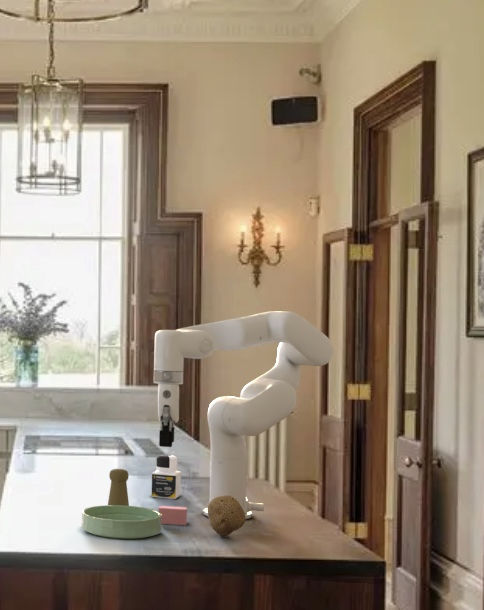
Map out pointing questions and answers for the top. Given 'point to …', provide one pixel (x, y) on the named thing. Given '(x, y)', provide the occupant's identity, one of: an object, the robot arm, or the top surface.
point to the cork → (118, 487)
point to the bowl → (121, 521)
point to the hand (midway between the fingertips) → (166, 444)
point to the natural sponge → (225, 515)
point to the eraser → (173, 515)
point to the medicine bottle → (166, 478)
